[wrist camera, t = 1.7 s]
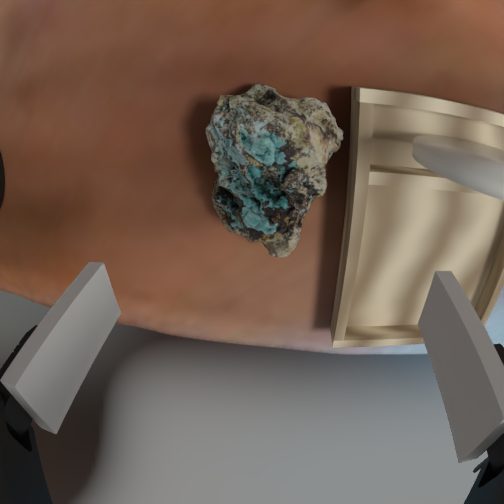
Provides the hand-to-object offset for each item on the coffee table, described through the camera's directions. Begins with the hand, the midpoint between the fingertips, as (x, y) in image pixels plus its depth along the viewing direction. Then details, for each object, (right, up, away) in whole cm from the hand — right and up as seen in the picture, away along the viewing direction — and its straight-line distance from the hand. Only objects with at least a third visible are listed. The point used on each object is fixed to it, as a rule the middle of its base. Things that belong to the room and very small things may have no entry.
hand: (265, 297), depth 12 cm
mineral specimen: (+1, +9, +13) cm, 16 cm away
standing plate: (+16, +11, +10) cm, 22 cm away
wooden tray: (+16, +4, +14) cm, 22 cm away
